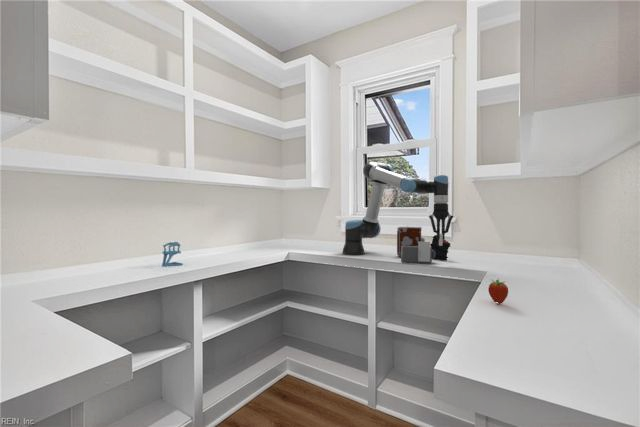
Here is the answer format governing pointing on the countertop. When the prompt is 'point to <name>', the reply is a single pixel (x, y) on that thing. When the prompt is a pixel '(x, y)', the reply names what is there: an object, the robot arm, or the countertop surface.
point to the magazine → (440, 249)
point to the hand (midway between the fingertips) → (440, 245)
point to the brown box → (408, 237)
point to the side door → (423, 251)
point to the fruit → (498, 291)
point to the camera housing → (413, 255)
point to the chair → (171, 254)
